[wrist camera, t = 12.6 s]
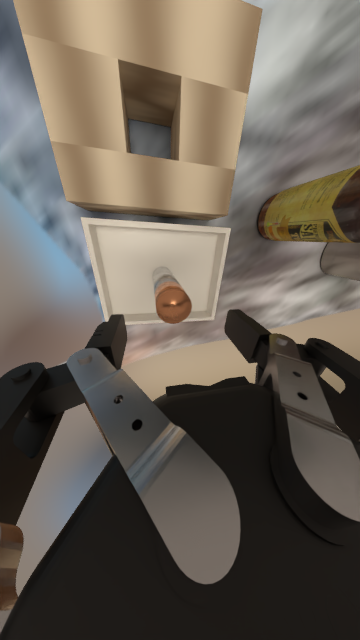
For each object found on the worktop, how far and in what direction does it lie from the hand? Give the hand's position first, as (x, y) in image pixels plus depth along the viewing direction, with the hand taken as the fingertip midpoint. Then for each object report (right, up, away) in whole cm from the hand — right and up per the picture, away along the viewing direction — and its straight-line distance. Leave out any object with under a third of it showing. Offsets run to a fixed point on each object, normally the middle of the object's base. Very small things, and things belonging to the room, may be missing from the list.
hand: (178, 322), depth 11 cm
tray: (-3, +8, +13) cm, 15 cm away
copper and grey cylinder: (-3, +7, +12) cm, 14 cm away
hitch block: (-3, +20, +6) cm, 21 cm away
